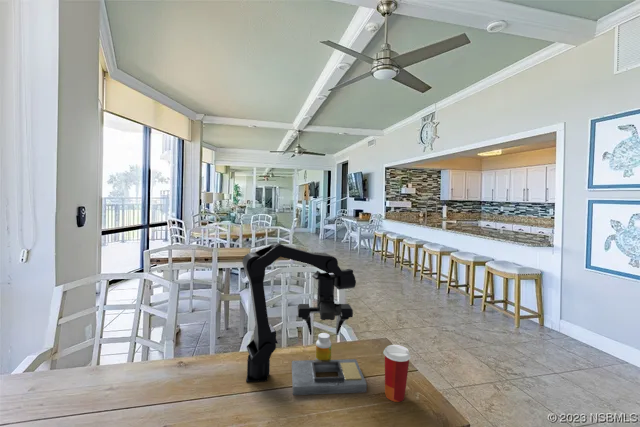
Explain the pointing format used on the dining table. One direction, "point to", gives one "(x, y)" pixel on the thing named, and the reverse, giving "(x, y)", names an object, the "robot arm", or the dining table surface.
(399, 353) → the paper cup
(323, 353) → the supplement bottle
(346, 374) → the grey base block
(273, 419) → the dining table surface
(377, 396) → the dining table surface
